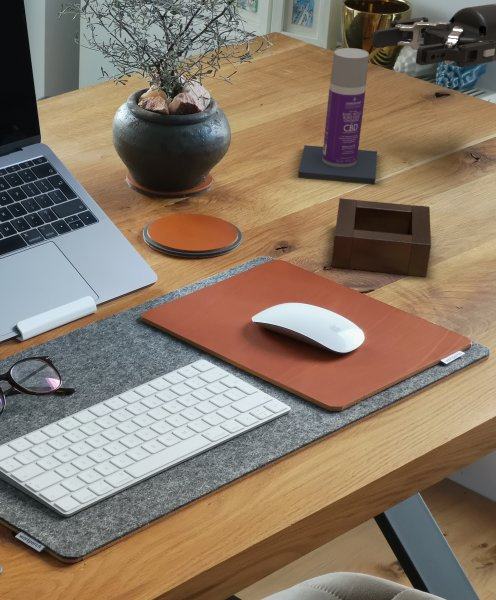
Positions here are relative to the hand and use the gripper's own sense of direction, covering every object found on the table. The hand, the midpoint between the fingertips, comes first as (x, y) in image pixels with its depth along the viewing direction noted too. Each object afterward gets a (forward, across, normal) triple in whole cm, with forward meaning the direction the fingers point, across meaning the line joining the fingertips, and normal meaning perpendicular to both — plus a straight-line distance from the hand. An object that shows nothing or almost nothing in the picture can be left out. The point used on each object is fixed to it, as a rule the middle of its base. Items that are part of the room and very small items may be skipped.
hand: (395, 47), depth 141 cm
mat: (+3, -4, +17) cm, 18 cm away
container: (+3, -4, +16) cm, 17 cm away
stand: (+15, +18, +18) cm, 30 cm away
